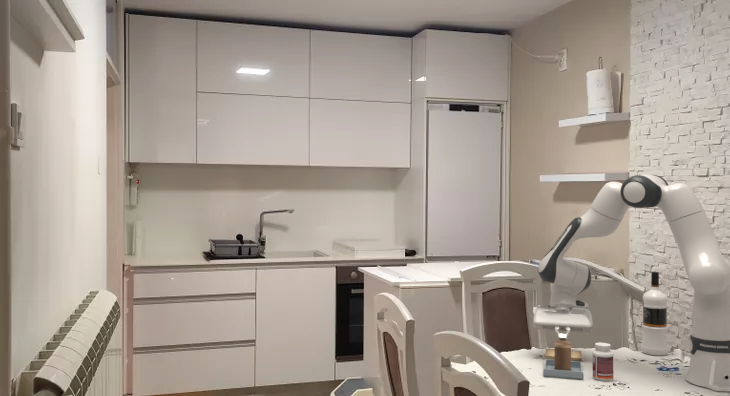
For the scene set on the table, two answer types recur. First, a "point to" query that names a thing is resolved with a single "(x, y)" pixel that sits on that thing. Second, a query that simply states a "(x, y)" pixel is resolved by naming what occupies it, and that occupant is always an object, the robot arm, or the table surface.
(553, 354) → the oak board
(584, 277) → the robot arm
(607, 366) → the pill bottle
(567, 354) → the walnut block
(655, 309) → the vodka
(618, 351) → the table surface
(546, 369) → the tray
